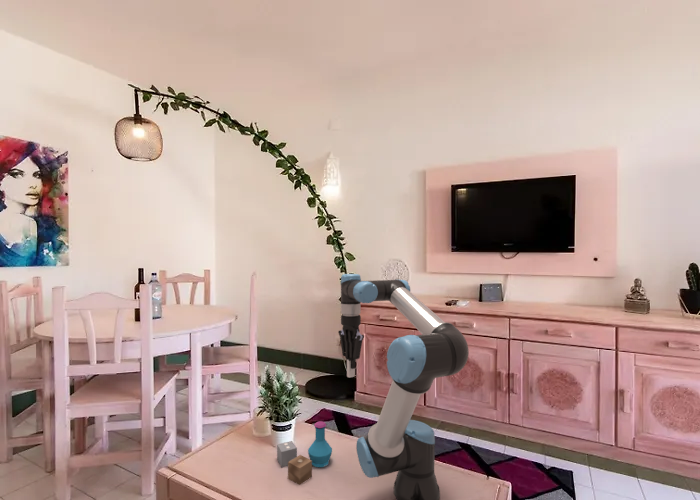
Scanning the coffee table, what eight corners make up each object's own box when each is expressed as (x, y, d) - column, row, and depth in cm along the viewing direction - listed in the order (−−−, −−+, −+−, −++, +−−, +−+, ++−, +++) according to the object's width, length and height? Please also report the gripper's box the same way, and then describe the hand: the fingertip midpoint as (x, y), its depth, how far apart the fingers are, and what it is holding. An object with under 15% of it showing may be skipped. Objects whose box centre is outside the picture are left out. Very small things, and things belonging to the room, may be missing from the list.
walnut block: (311, 477, 135) (311, 460, 135) (299, 485, 131) (299, 467, 130) (300, 471, 139) (300, 454, 139) (287, 478, 134) (288, 461, 134)
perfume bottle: (333, 456, 149) (333, 418, 149) (330, 470, 139) (330, 429, 139) (310, 455, 150) (310, 417, 149) (305, 468, 140) (305, 428, 140)
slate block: (296, 463, 144) (296, 447, 144) (281, 467, 141) (281, 451, 141) (292, 455, 149) (292, 440, 149) (277, 459, 146) (277, 443, 146)
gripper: (369, 315, 141) (369, 378, 141) (347, 311, 151) (348, 370, 151) (354, 317, 136) (354, 383, 136) (332, 313, 146) (332, 374, 146)
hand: (350, 376), depth 143 cm, fingers closed
